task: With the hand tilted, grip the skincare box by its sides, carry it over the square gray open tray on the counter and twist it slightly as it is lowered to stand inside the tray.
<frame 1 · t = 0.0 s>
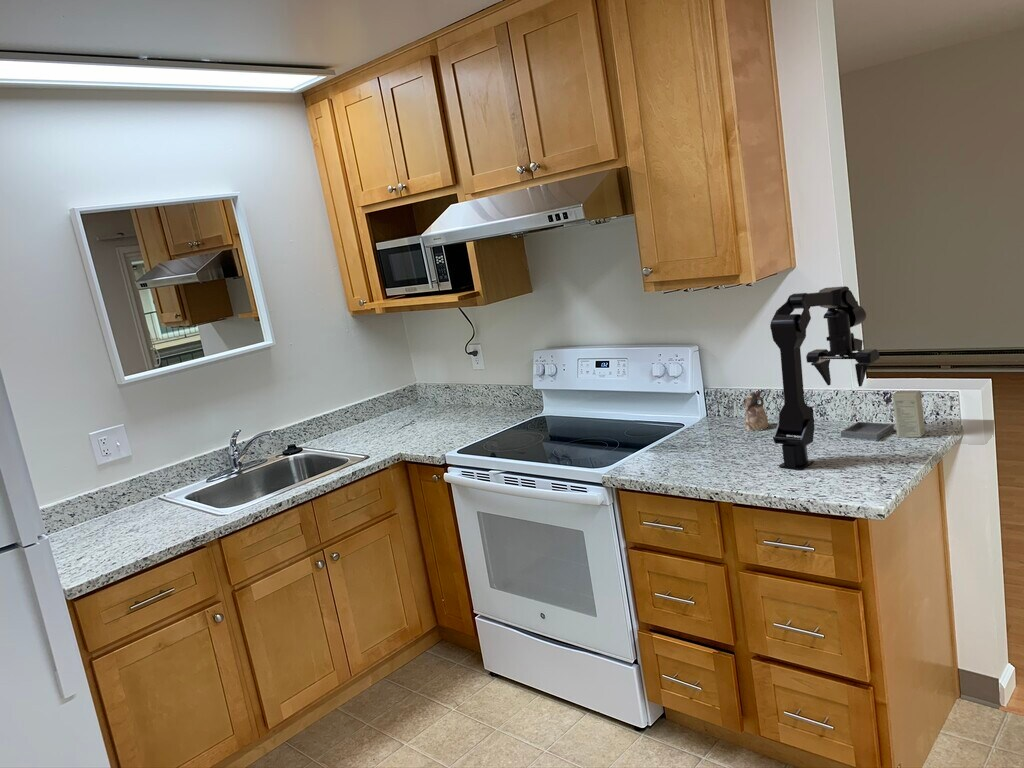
hand: (844, 385, 216), 15 cm above the worktop, tool pointing down, fingers open, 9 cm apart
square gray open tray: (867, 433, 218), on the worktop
skincare box: (910, 435, 210), on the worktop
figurine: (756, 428, 242), on the worktop
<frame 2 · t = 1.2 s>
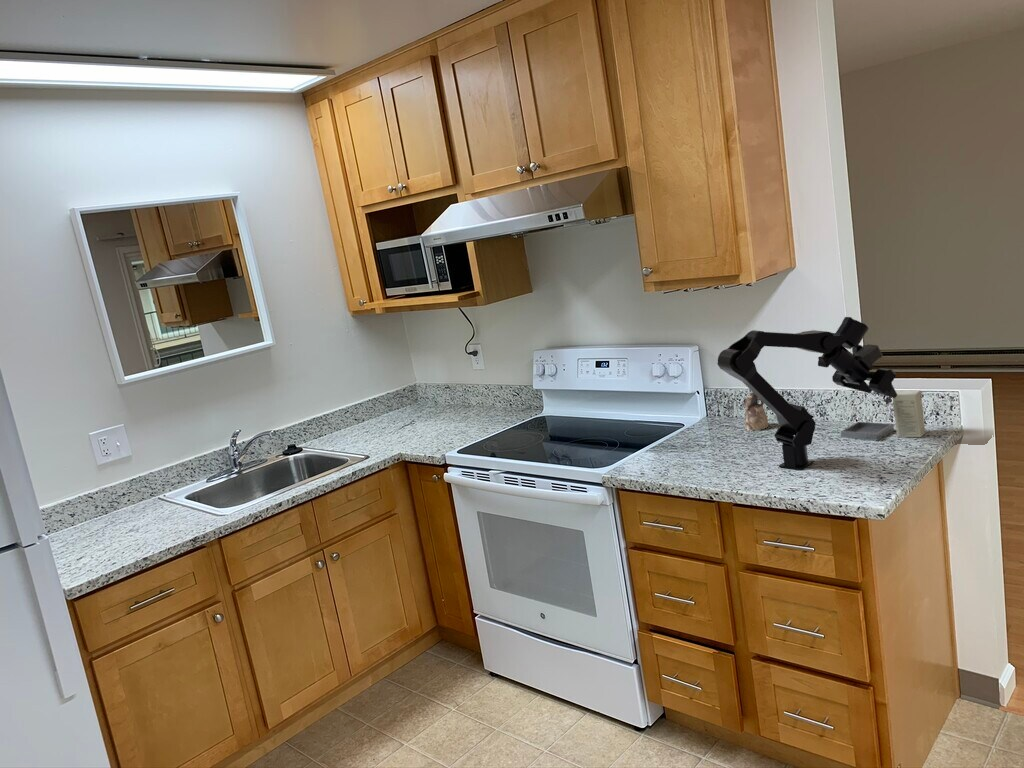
hand: (883, 394, 206), 13 cm above the worktop, tool tilted 45°, fingers open, 9 cm apart
nothing on the worktop moved.
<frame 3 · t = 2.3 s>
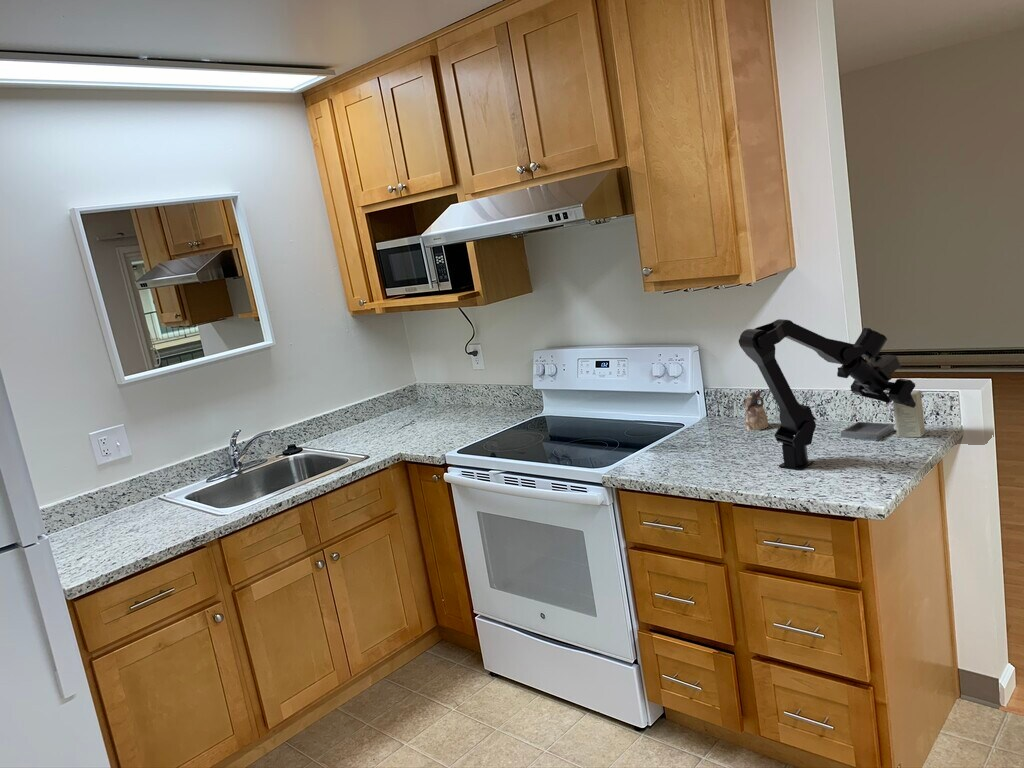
hand: (901, 403, 208), 9 cm above the worktop, tool tilted 45°, fingers open, 9 cm apart
nothing on the worktop moved.
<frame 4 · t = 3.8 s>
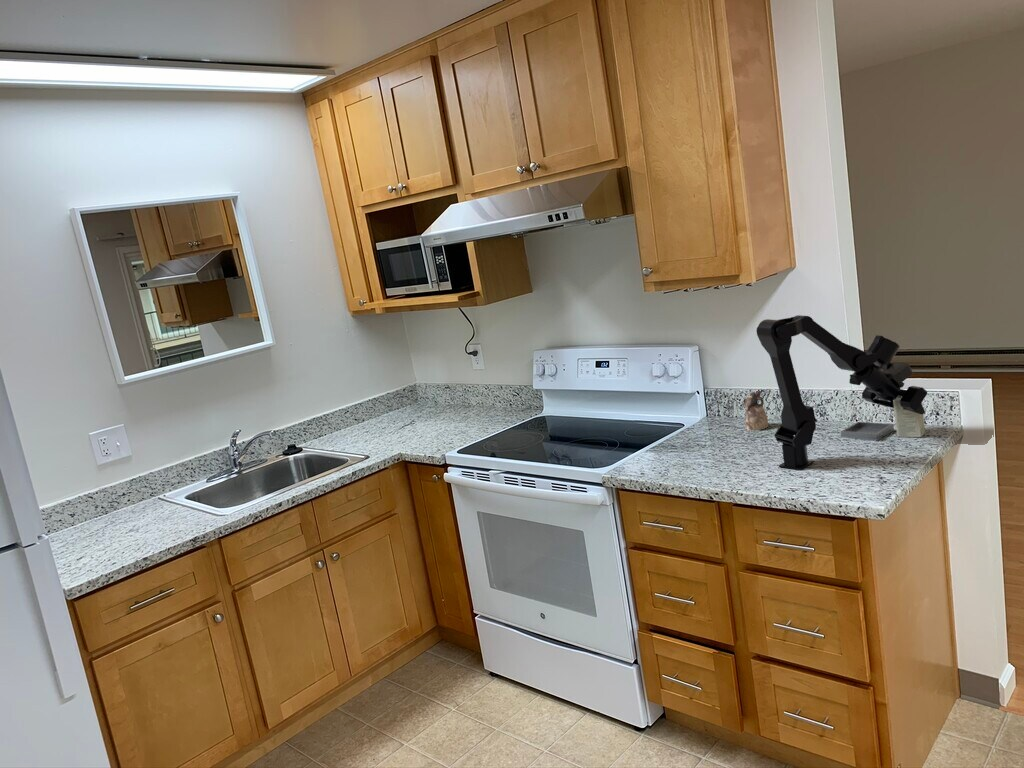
hand: (912, 410, 209), 7 cm above the worktop, tool tilted 45°, fingers closed on skincare box, 7 cm apart
skincare box: (910, 435, 210), on the worktop, touching gripper
everything else where it was.
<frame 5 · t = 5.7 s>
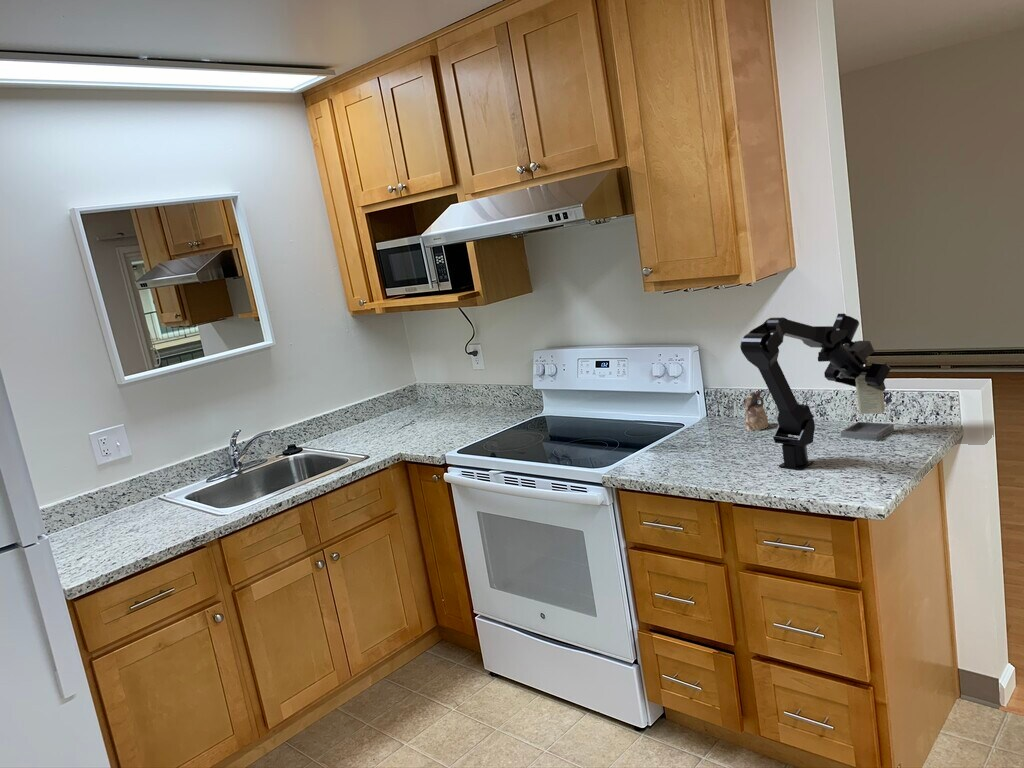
hand: (873, 388, 215), 13 cm above the worktop, tool tilted 45°, fingers closed on skincare box, 7 cm apart
skincare box: (871, 412, 215), point 6 cm above the worktop, touching gripper
everything else where it was.
when the fingers open (8 cm above the worktop, at t = 7.6 s): skincare box drops 1 cm, resting on square gray open tray.
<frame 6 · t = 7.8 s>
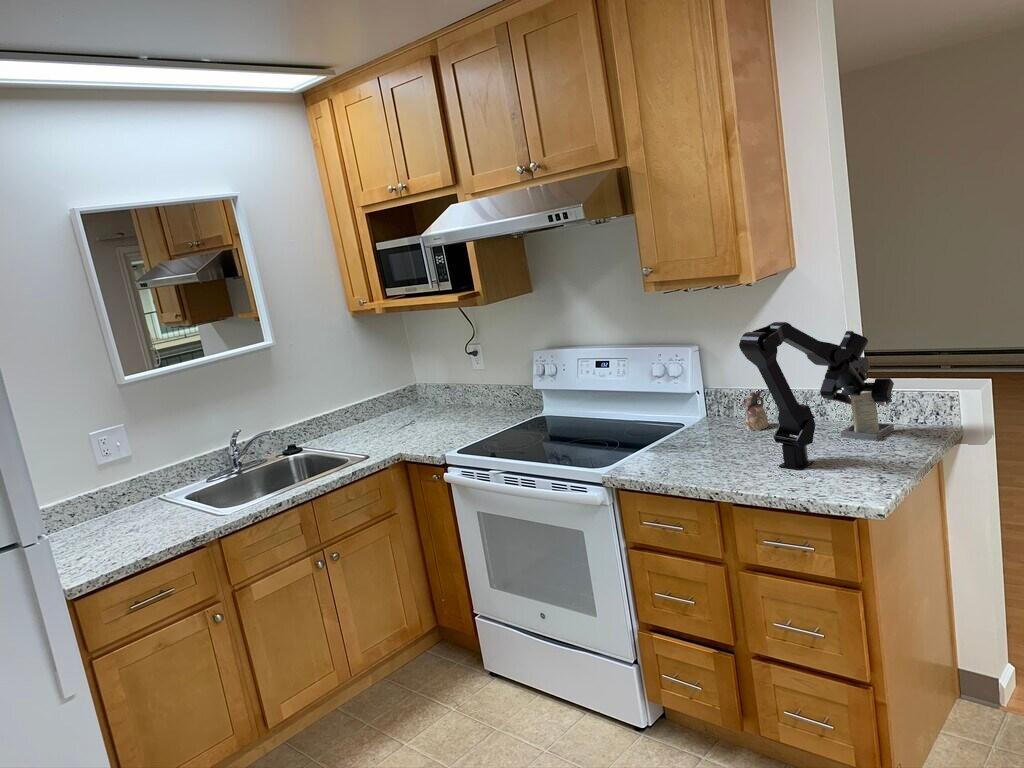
hand: (867, 403, 217), 9 cm above the worktop, tool tilted 45°, fingers open, 9 cm apart
skincare box: (866, 433, 217), resting on square gray open tray
everything else where it was.
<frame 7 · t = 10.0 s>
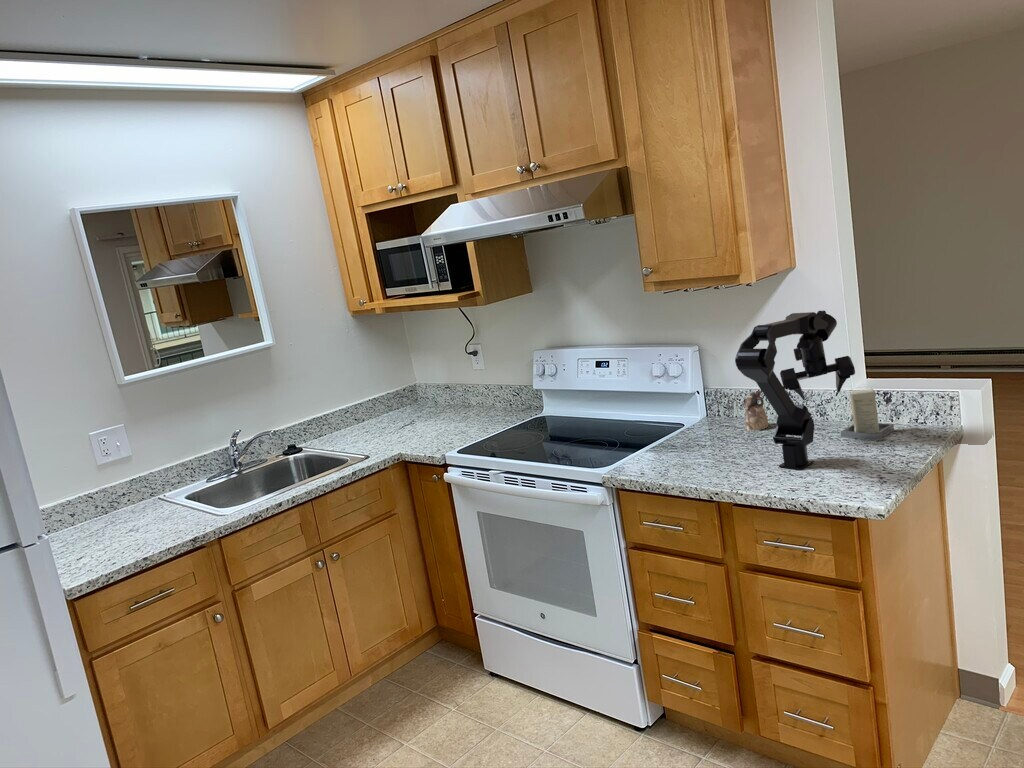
hand: (820, 395, 215), 13 cm above the worktop, tool tilted 25°, fingers open, 9 cm apart
nothing on the worktop moved.
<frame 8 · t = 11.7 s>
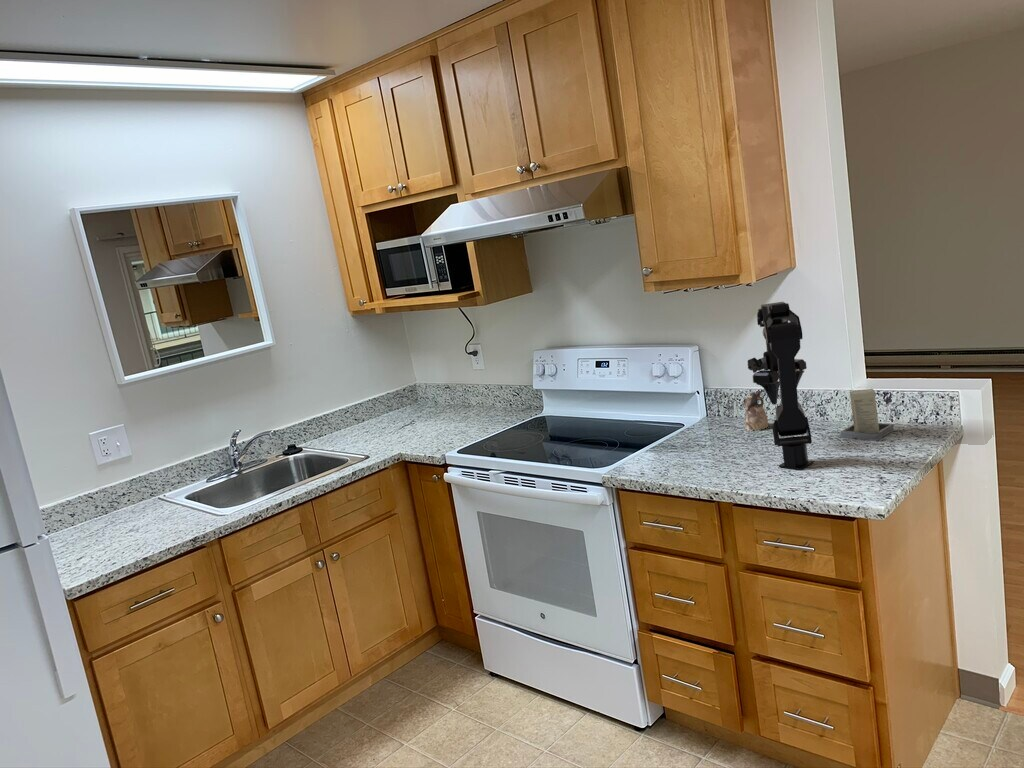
hand: (783, 400, 219), 13 cm above the worktop, tool pointing down, fingers open, 9 cm apart
nothing on the worktop moved.
at the end: skincare box inside the target area on the square gray open tray (0.3 cm from its centre), point 0.2 cm above the square gray open tray's base; skincare box tilted 0°; the gripper is holding nothing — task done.
